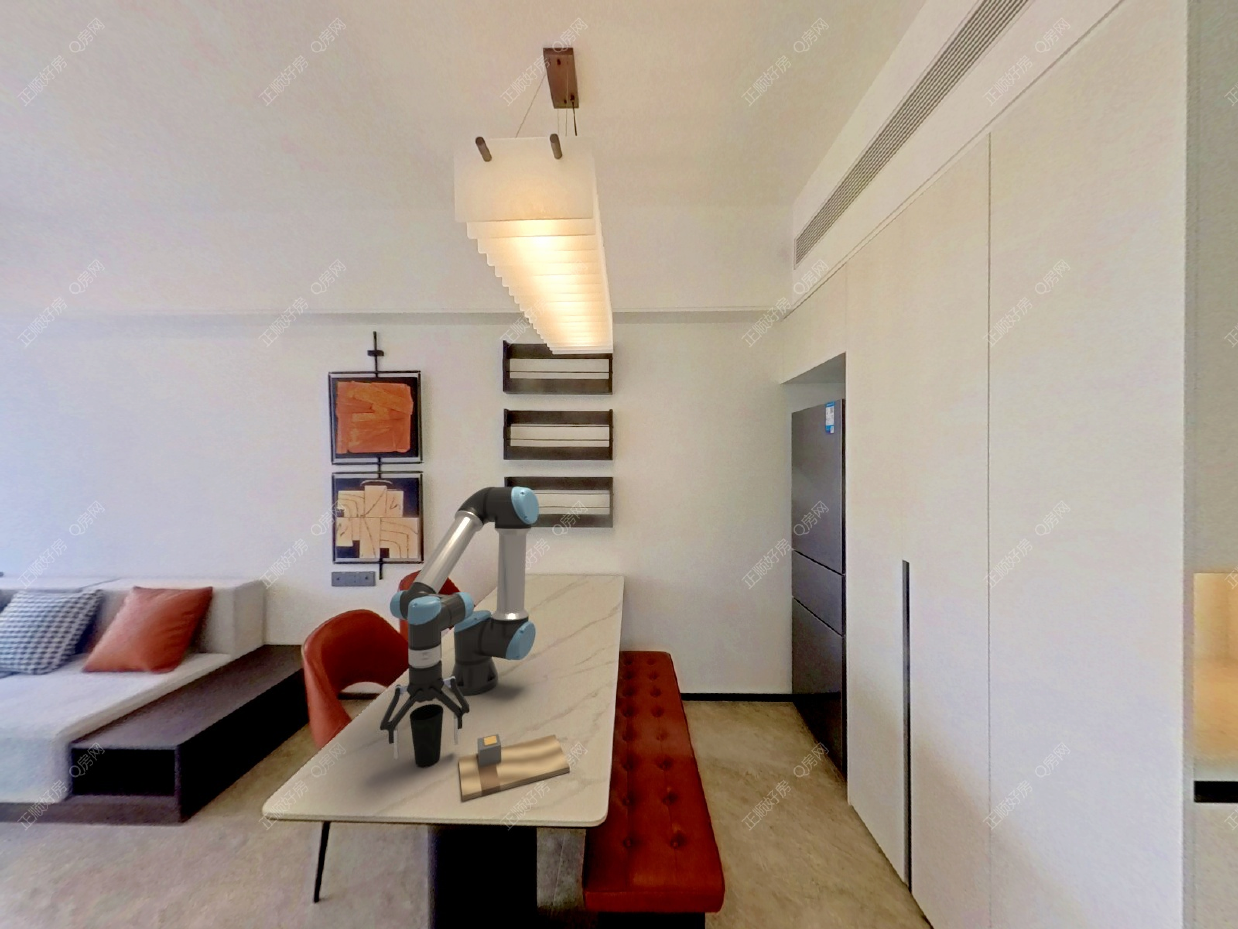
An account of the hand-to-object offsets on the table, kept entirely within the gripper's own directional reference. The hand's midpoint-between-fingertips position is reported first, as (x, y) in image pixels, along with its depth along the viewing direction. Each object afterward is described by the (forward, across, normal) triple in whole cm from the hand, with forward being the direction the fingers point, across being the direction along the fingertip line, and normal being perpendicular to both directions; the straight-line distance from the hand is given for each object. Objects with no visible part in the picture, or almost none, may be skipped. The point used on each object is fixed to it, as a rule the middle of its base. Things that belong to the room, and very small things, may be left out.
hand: (426, 748), depth 116 cm
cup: (+3, 0, 0) cm, 3 cm away
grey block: (+2, +14, -7) cm, 16 cm away
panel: (+3, +19, -11) cm, 22 cm away
